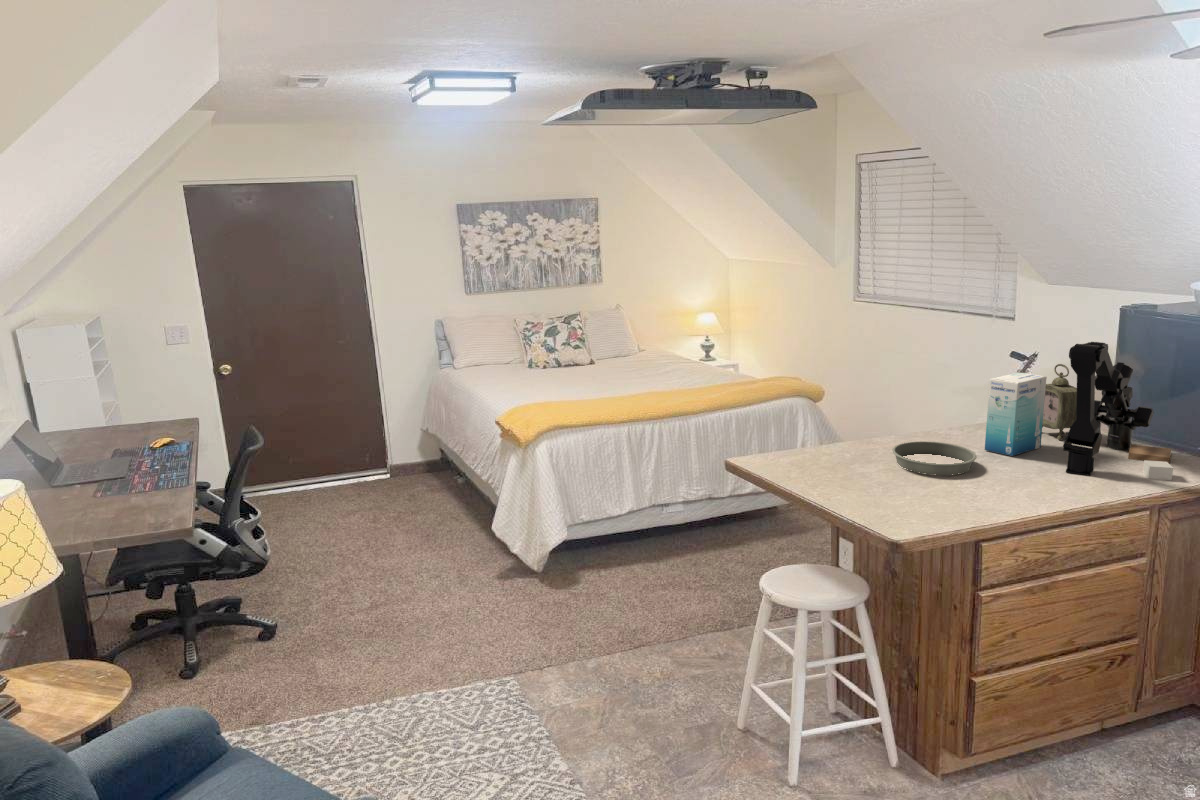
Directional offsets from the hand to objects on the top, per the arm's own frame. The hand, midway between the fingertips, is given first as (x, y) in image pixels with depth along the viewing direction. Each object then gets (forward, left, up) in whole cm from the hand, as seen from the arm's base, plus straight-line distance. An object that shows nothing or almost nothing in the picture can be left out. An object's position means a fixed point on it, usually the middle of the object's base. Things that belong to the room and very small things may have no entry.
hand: (1122, 427), depth 291 cm
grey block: (+11, -29, -7) cm, 32 cm away
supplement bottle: (0, -1, -7) cm, 7 cm away
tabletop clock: (-19, +5, -7) cm, 21 cm away
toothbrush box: (-29, -19, -7) cm, 36 cm away
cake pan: (-47, -49, -7) cm, 69 cm away
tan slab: (+9, -8, -7) cm, 14 cm away
